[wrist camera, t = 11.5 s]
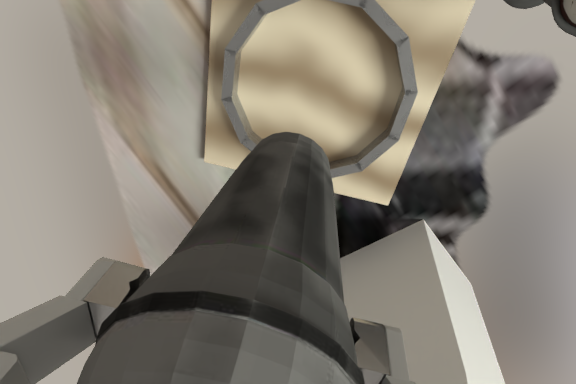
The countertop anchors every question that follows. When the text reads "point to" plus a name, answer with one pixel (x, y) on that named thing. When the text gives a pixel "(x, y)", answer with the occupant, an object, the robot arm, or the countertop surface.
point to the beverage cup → (243, 287)
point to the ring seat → (329, 80)
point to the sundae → (554, 11)
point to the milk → (422, 306)
